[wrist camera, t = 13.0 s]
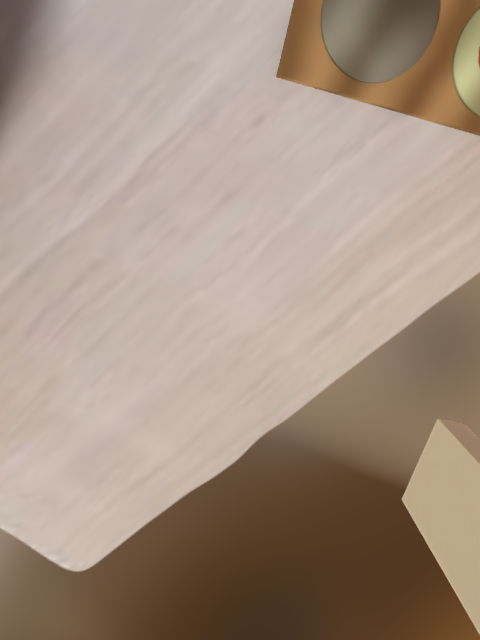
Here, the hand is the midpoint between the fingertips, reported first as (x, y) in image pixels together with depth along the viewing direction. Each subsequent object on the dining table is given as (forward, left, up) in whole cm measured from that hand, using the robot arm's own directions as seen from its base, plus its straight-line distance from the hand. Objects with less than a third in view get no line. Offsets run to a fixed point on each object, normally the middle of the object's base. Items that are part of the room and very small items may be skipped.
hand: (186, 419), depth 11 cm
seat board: (+16, +21, -32) cm, 41 cm away
